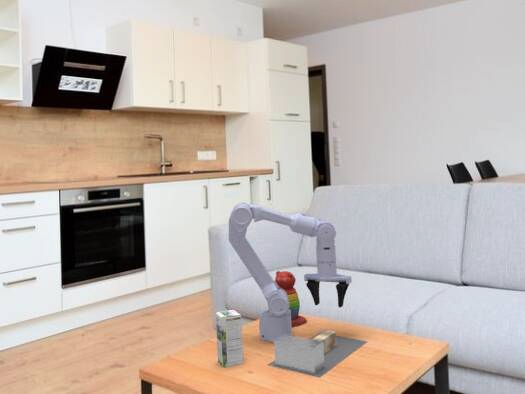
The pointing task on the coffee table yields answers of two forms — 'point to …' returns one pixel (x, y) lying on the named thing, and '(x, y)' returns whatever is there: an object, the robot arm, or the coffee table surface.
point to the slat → (327, 340)
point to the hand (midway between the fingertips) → (328, 305)
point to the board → (332, 354)
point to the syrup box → (229, 338)
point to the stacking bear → (290, 296)
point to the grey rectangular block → (299, 353)
